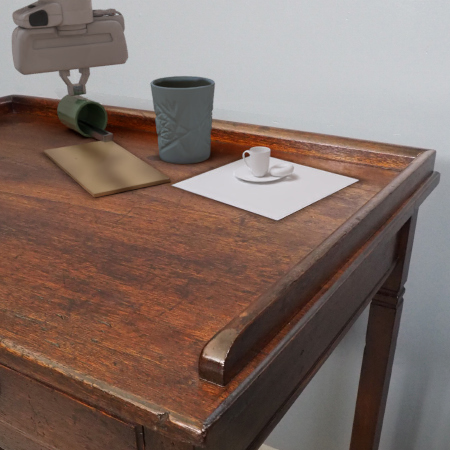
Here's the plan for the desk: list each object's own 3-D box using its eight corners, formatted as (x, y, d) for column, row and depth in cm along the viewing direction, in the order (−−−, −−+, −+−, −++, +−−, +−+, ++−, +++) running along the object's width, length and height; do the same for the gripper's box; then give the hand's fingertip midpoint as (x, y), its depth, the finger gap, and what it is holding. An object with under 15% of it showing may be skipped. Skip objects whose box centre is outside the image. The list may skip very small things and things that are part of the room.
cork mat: (94, 197, 88) (93, 193, 87) (44, 153, 105) (43, 150, 105) (169, 182, 93) (169, 178, 93) (110, 142, 111) (109, 139, 110)
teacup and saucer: (300, 175, 95) (302, 149, 92) (268, 189, 90) (268, 162, 87) (256, 163, 100) (256, 138, 98) (223, 176, 95) (223, 150, 92)
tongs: (73, 126, 118) (103, 142, 109) (72, 120, 117) (103, 135, 108) (82, 124, 119) (113, 140, 110) (81, 118, 118) (113, 133, 109)
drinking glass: (143, 159, 102) (137, 84, 96) (176, 143, 110) (173, 72, 104) (196, 168, 98) (193, 90, 92) (226, 151, 105) (226, 78, 99)
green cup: (59, 130, 118) (77, 140, 112) (54, 95, 114) (72, 104, 109) (90, 124, 121) (109, 133, 115) (86, 91, 118) (105, 98, 112)
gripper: (116, 6, 113) (123, 84, 120) (2, 14, 104) (17, 98, 111) (129, 9, 108) (136, 90, 115) (12, 17, 99) (27, 105, 106)
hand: (77, 94), depth 113 cm, fingers closed
